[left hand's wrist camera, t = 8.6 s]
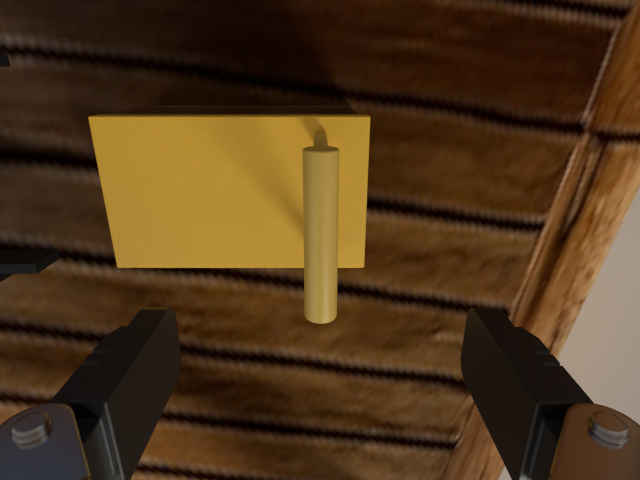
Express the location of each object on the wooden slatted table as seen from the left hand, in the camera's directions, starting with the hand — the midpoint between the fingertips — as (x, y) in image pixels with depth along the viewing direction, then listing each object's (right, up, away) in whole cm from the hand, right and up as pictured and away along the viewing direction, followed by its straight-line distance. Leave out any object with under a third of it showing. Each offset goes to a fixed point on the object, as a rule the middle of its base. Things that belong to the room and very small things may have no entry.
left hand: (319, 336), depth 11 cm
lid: (-5, +6, +15) cm, 16 cm away
